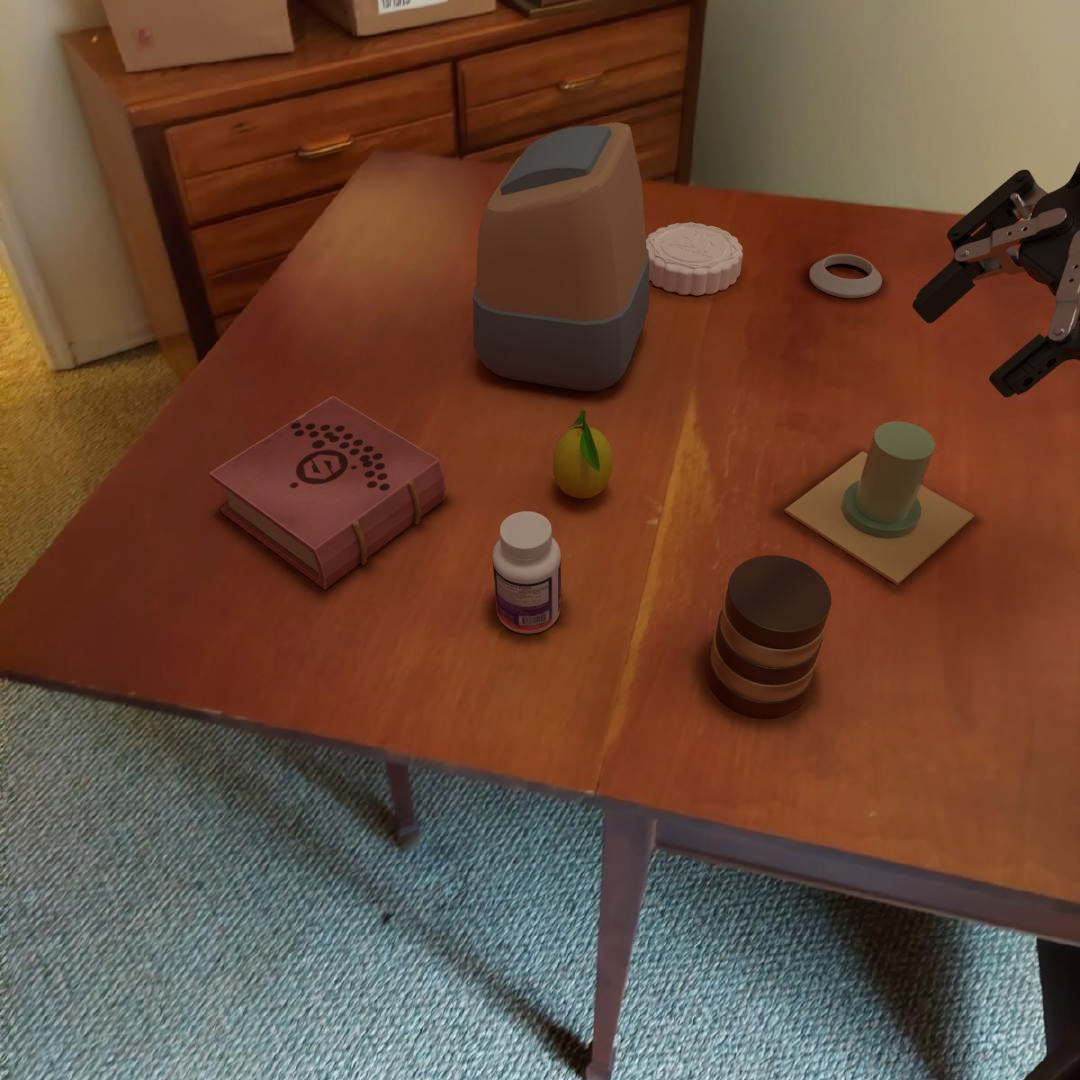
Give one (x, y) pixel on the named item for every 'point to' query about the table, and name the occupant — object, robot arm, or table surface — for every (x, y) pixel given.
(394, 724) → the table surface
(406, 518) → the book
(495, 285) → the small trash can
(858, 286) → the ring
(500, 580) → the pill bottle
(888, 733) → the table surface
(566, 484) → the lemon
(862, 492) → the ring spool
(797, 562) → the stack
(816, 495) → the mat
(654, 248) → the mooncake
